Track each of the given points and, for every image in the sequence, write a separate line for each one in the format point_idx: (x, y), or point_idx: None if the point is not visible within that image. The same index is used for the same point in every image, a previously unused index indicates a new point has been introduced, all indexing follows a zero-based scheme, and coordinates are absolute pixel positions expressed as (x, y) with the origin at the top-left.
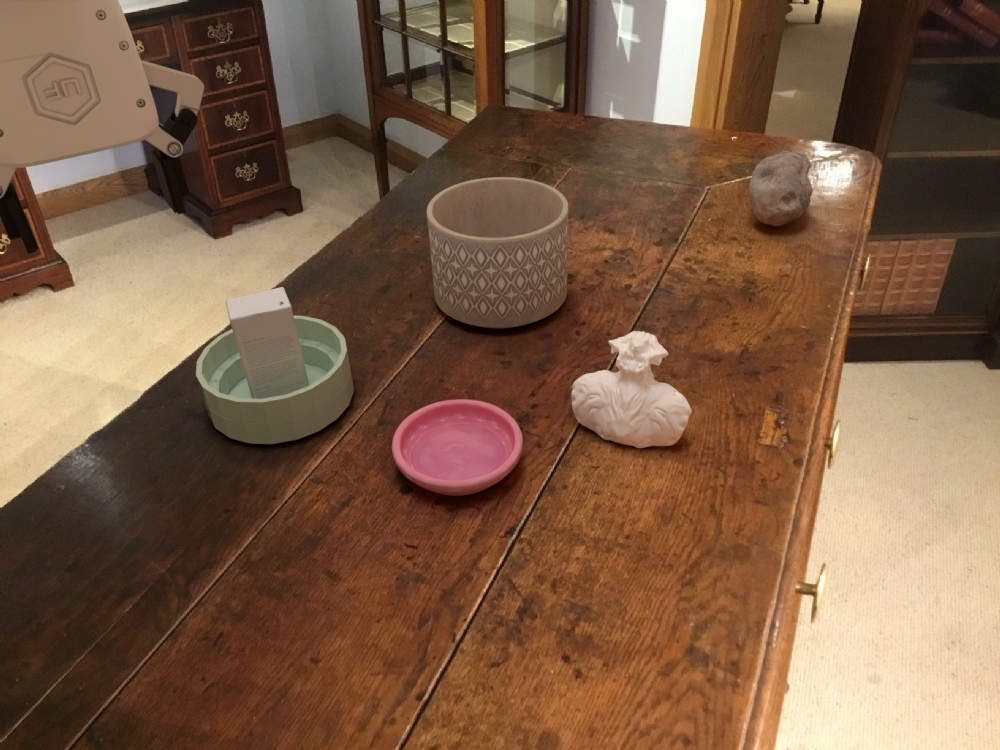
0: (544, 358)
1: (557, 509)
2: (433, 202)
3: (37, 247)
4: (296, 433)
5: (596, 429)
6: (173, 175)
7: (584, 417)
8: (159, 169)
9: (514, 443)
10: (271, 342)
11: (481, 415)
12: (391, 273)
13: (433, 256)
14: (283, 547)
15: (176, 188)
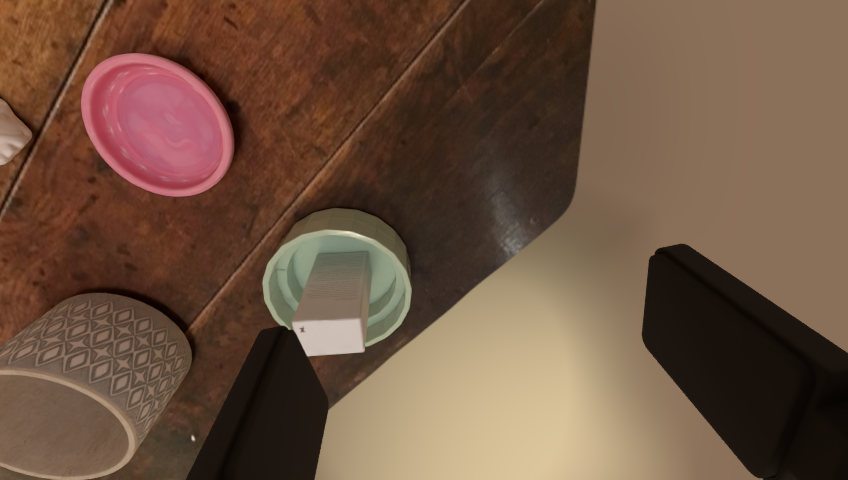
0: (80, 246)
1: (63, 12)
2: (127, 452)
3: (658, 254)
4: (332, 210)
5: (6, 111)
6: (218, 428)
7: (12, 125)
8: (279, 473)
9: (91, 103)
10: (329, 295)
11: (138, 169)
12: None
13: (156, 386)
14: (356, 73)
15: (239, 384)
